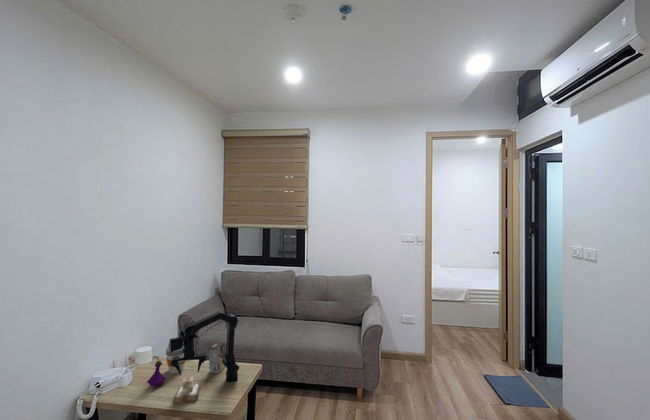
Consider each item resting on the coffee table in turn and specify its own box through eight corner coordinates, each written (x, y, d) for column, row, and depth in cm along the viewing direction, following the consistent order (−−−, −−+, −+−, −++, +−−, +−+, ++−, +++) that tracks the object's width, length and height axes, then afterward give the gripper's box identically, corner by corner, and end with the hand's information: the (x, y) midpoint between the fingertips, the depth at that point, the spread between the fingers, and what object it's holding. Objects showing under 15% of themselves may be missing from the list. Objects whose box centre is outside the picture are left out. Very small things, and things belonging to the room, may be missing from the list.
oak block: (193, 386, 176) (193, 376, 176) (192, 391, 172) (192, 380, 172) (184, 388, 175) (183, 377, 175) (182, 393, 170) (182, 382, 170)
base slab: (200, 388, 180) (200, 382, 180) (197, 399, 169) (197, 394, 169) (178, 391, 177) (178, 386, 177) (174, 403, 166) (174, 398, 166)
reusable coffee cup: (181, 375, 195) (181, 351, 195) (162, 375, 195) (161, 351, 196) (190, 365, 208) (190, 343, 208) (172, 365, 208) (172, 343, 208)
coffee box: (216, 365, 207) (216, 341, 207) (225, 366, 206) (225, 342, 206) (209, 372, 198) (208, 347, 198) (217, 373, 197) (217, 348, 197)
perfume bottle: (166, 383, 186) (166, 354, 186) (155, 390, 179) (155, 359, 179) (158, 380, 189) (158, 351, 189) (147, 387, 182) (146, 357, 182)
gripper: (207, 338, 185) (208, 364, 185) (174, 343, 180) (174, 369, 180) (205, 346, 174) (206, 373, 174) (170, 351, 169) (170, 379, 169)
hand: (189, 373), depth 174 cm, fingers open, 9 cm apart
